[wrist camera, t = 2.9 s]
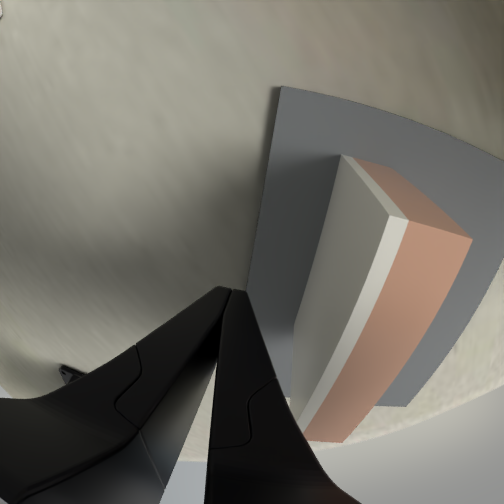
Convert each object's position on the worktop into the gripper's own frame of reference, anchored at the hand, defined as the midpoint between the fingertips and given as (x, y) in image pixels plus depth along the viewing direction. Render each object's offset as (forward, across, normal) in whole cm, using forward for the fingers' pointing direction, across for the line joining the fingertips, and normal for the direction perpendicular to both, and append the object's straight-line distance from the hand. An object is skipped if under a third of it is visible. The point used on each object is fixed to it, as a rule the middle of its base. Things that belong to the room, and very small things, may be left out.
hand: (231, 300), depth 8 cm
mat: (+5, -6, +2) cm, 8 cm away
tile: (+4, -4, 0) cm, 6 cm away
